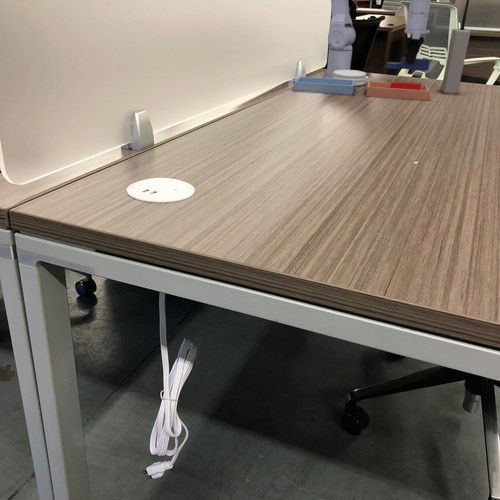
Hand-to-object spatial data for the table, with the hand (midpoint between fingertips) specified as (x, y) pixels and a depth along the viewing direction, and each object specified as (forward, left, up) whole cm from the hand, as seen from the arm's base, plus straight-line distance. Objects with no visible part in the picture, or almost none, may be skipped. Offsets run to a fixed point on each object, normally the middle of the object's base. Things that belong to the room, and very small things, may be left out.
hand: (409, 63), depth 152 cm
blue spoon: (0, 0, -2) cm, 2 cm away
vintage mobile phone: (+7, +12, -7) cm, 15 cm away
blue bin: (+17, -23, -7) cm, 30 cm away
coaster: (+4, -17, -7) cm, 19 cm away
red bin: (+17, -3, -7) cm, 18 cm away
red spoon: (+17, -3, -6) cm, 18 cm away
